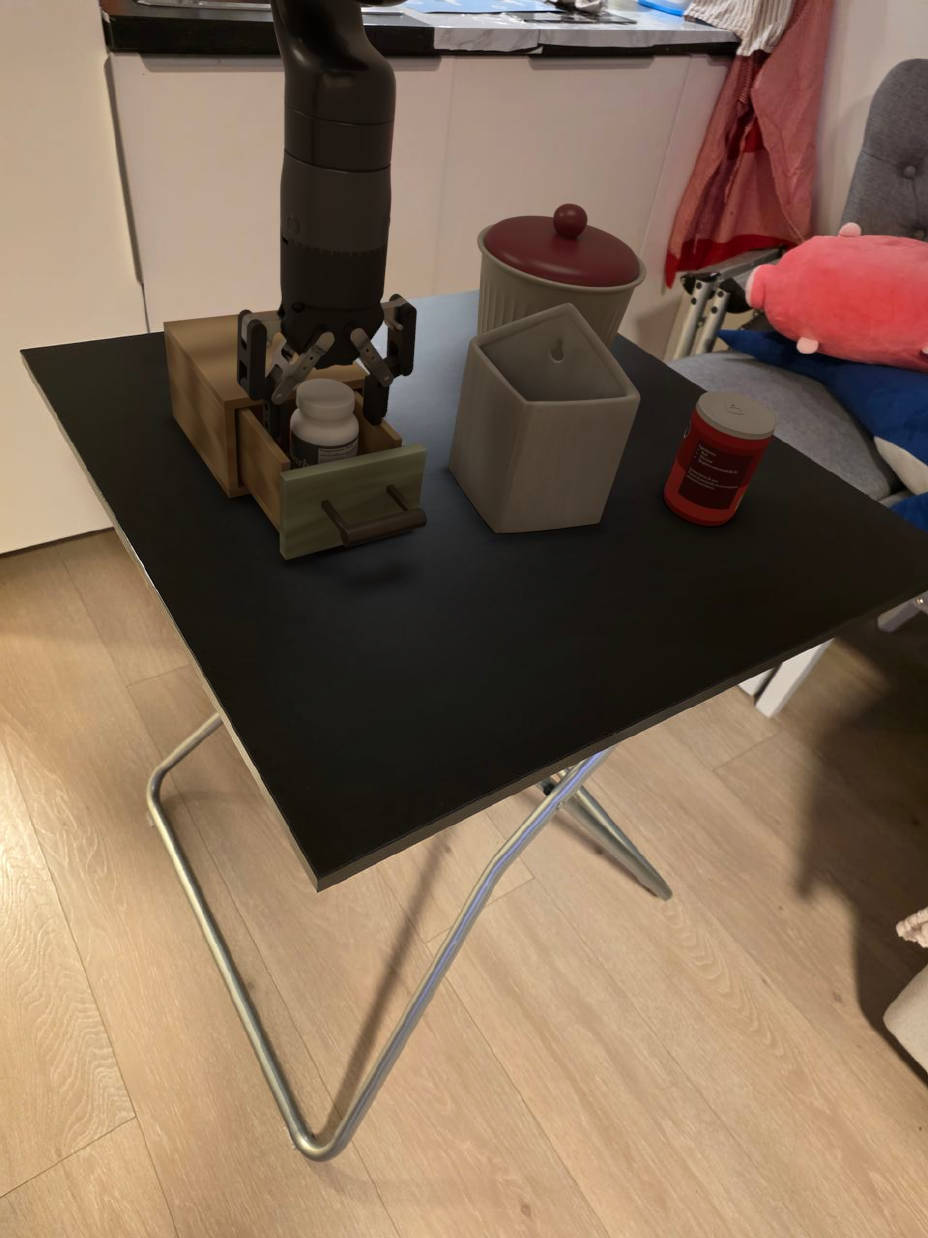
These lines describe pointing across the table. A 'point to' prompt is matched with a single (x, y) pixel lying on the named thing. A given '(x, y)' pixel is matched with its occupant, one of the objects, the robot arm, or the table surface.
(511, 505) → the planter
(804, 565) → the table surface
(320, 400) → the pill bottle
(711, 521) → the red supplement jar
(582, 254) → the canister
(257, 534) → the table surface
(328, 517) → the drawer
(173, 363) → the cabinet
